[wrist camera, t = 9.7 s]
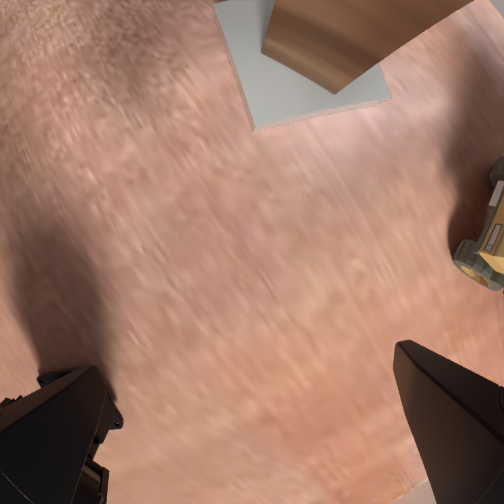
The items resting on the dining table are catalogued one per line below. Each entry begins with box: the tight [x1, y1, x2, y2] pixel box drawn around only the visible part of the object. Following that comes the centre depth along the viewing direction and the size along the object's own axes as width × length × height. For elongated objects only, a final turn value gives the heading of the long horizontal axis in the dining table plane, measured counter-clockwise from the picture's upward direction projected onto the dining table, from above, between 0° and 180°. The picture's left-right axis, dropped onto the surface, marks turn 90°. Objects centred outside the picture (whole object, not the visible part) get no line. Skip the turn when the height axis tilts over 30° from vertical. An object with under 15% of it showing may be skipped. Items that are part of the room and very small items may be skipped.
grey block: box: [213, 0, 391, 133], centre depth 17 cm, size 9×9×3 cm
